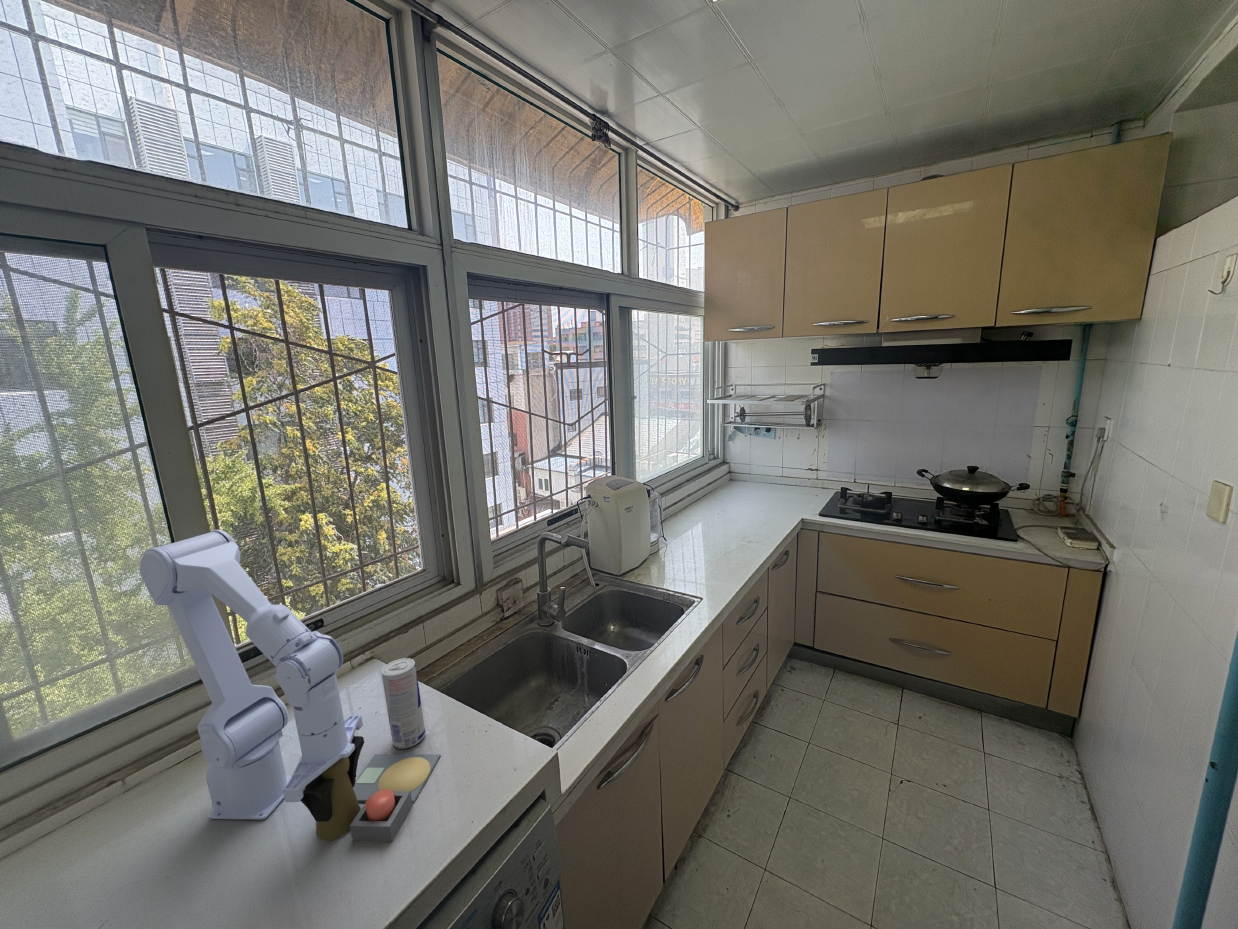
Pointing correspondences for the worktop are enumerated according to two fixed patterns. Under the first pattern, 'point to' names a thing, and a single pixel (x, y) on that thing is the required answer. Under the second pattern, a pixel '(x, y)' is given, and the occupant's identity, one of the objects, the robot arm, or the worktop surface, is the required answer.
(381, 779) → the grey kitchen scale
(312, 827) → the worktop surface
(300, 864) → the worktop surface
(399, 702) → the beverage can
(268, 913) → the worktop surface
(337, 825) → the olive knobbed peg
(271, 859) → the worktop surface
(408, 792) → the button housing
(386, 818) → the button
